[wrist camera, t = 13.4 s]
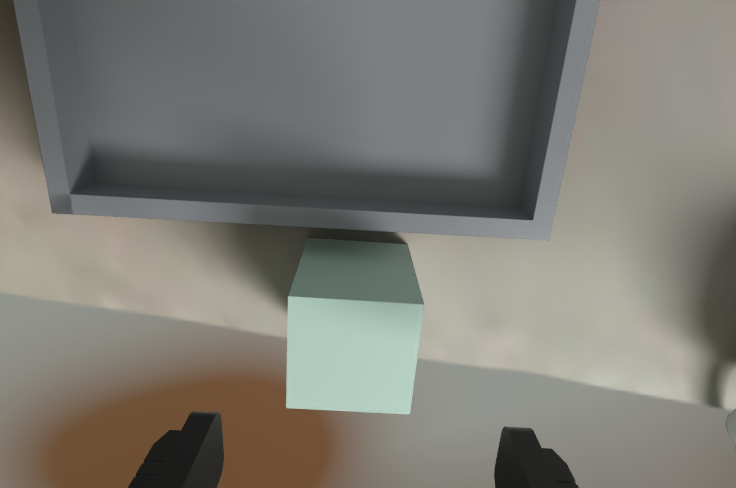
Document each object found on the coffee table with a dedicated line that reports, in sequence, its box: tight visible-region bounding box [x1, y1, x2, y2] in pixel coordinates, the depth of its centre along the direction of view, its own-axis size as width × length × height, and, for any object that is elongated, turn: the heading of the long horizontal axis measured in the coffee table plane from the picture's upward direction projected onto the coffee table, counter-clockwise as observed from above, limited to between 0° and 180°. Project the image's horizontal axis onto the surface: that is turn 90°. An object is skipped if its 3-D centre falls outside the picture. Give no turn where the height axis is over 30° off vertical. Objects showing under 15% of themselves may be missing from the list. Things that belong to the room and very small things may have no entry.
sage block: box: [286, 238, 424, 414], centre depth 19 cm, size 5×5×6 cm
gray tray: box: [13, 0, 600, 240], centre depth 17 cm, size 20×13×2 cm, turn 86°
